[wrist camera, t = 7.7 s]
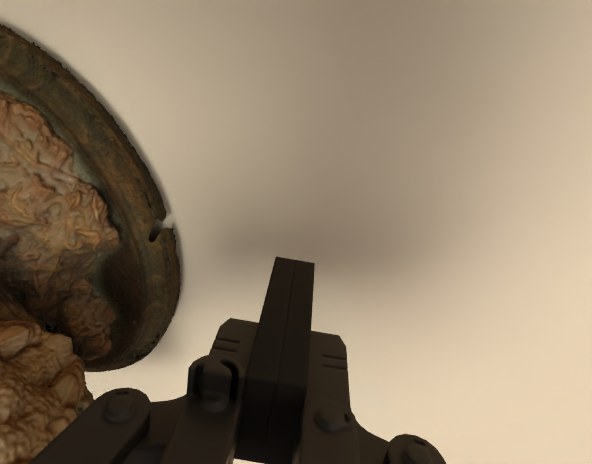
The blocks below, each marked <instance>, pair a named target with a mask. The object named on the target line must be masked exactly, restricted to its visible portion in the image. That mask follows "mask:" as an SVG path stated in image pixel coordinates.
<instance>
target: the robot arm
mask: <svg viewBox="0 0 592 464" xmlns="http://www.w3.org/2000/svg"><path fill="white" fill-rule="evenodd" d="M314 267H315V263H310V262H304V261H298V260H293V259H287V258H281V257H276V258H275V262H274V266H273V270H272V274H271V278H270V282H269V285H268V289H267V293H266V297H265V301H264V305H263V309H262V313H261V316H260V320H259V323H256V322H251V321H245V320H239V319H233V318H230V319H228V320H227V321H226V322H225V323H224V324H222V325H221V326H220V328H219V330H218V333H217V335H216V338H215V340H214V343H213V345H212V349H211V350H210V353H209V355H207V356H203V357H201V358H199V359H197V360H196V361H194V362H193V363H192V365H191V366H190V367H189V371H188V385H187V394H186V395H184V396H182V397H180V398H177V399H174V400H168V401H160V402H150V400H149V399H148V397H147V395H146V394H144V393H143V392H141V391H140V390H137V389H132V388H119V389H114V390H111V391H109V392H106V393H104V394H103V395H101V396H100V397H98V398H97V399H96V400H94V401H93V402H92V403H91V404H90V405H89V406H88V407H87V408H86V409H85V410H84V411H83V412H82V413H81V414H80V415H79V416H78V417H76V418H75V419H74V420H73V421H72V422H71V423H70V424H69V425H68V426H67V427H66V428H65V429H64V430H63V431H62V432H61V433H60V434H59V435H57V436H56V437H55V438H54V439H53V440H52V441H51V442H50V443H49V444H48V445H47V446H46V447H45V448H44V449H43V450H42V451H41V452H39V453H38V454H37V455H36V456H35V457H34V458H33V459H32V460H31V461H30V462H29V463H28V464H233V460H234V459H240V460H246V461H252V462H258V463H264V464H446V462H445V460H444V459H443V457H442V456H441V454H440V453H439V452H438V450H437V449H436V448H435V447H434V446H433V445H431V444H430V443H429V442H428V441H426V440H424V439H422V438H420V437H418V436H415V435H409V434H403V435H398V436H395V437H394V438H393V439H392V440H391V441H390V442H388V441H386V440H384V439H382V438H379V437H377V436H375V435H373V434H371V433H370V432H368V431H366V430H365V429H364V428H363V427H361V426H360V425H359V423H358V422H357V421H356V419H355V416H354V414H353V413H352V412H351V408H350V396H349V381H348V371H347V369H348V367H347V352H346V346H345V344H344V343H343V341H342V339H341V338H340V336H339V335H333V334H327V333H321V332H316V331H311V319H312V301H313V284H314Z"/></svg>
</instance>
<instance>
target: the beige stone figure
mask: <svg viewBox="0 0 592 464" xmlns="http://www.w3.org/2000/svg"><path fill="white" fill-rule="evenodd" d="M40 48H41V47H39V46H38V45H37V46H35V43H34V42H33V43H30V42H29V41H27V40H26V39H25V38H22V37H21V36H19V35H17V34H16V33H15V32H13V31H12V30H11V29H9V28H7V27H5V26H4V25H3V26H2V25H1V24H0V464H28V463H29V462H30V461H31V460H32V459H33V458H34V457H35V456H36V455H37V454H38V453H39V452H41V451H42V450H43V449H44V448H45V447H46V446H47V445H48V444H49V443H50V442H51V441H52V440H53V439H54V438H55V437H56V436H57V435H59V434H60V433H61V432H62V431H63V430H64V429H65V428H66V427H67V426H68V425H69V424H70V423H71V422H72V421H73V420H74V419H75V418H76V417H78V416H79V415H80V414H81V413H82V412H83V411H84V410H85V409H86V408H87V407H88V406H89V405H90V404H91V403H92V402H93V401H94V399H93V395H92V394H91V392H90V391H89V390H88V389H87V386H85V385H86V382H85V375H84V371H86V372H102V371H103V372H104V371H110V370H116V369H120V368H124V367H127V366H129V365H132V364H134V363H136V362H137V361H139V360H141V359H143V358H144V357H145V356H147V355H148V354H149V353H150V352H151V351H152V350H153V349H154V348H155V346H156V345H157V344H158V342H159V341H160V339H161V338H162V336H163V335H164V333H165V332H166V330H167V328H168V326H169V323H170V322H171V319H172V316H174V312H175V309H176V304H177V301H178V299H179V292H180V265H179V259H178V256H177V253H176V240H175V236H176V235H174V233H173V229H168V228H163V230H161V232H160V234H159V235H158V236H157V239H156V240H155V241H154V242H150V241H149V240H148V239H149V235H150V233H151V230H152V228H153V225H154V223H155V221H156V219H158V220H159V221H163V220H164V219H165V218H166V210H165V208H164V204H163V200H162V197H161V195H160V192H159V191H158V189H157V186H156V184H155V183H154V181H153V179H152V177H151V175H150V173H149V171H148V169H147V167H146V166H145V164H144V162H143V161H142V160H141V159H140V157H139V155H138V154H137V153H136V150H135V148H134V147H133V146H132V145H131V144H130V142H129V141H128V140H127V136H126V135H125V134H124V133H123V131H122V130H121V129H120V128H119V125H117V123H116V121H115V120H114V118H113V117H112V115H110V114H109V112H107V111H106V109H105V107H104V106H103V105H102V104H100V102H98V101H96V98H95V97H94V96H93V94H92V93H91V92H89V91H88V90H87V89H86V87H85V86H83V84H81V83H79V81H78V79H76V78H75V77H74V75H72V74H71V73H70V71H69V70H67V68H66V69H65V68H64V67H63V66H62V64H61V63H59V61H56V60H55V59H54V58H52V57H51V56H50V55H48V54H47V52H46V53H45V51H43V50H42V49H40ZM46 323H47V324H48V325H49V326H50V328H51V329H48V328H46ZM48 331H50V332H48Z"/></svg>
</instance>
